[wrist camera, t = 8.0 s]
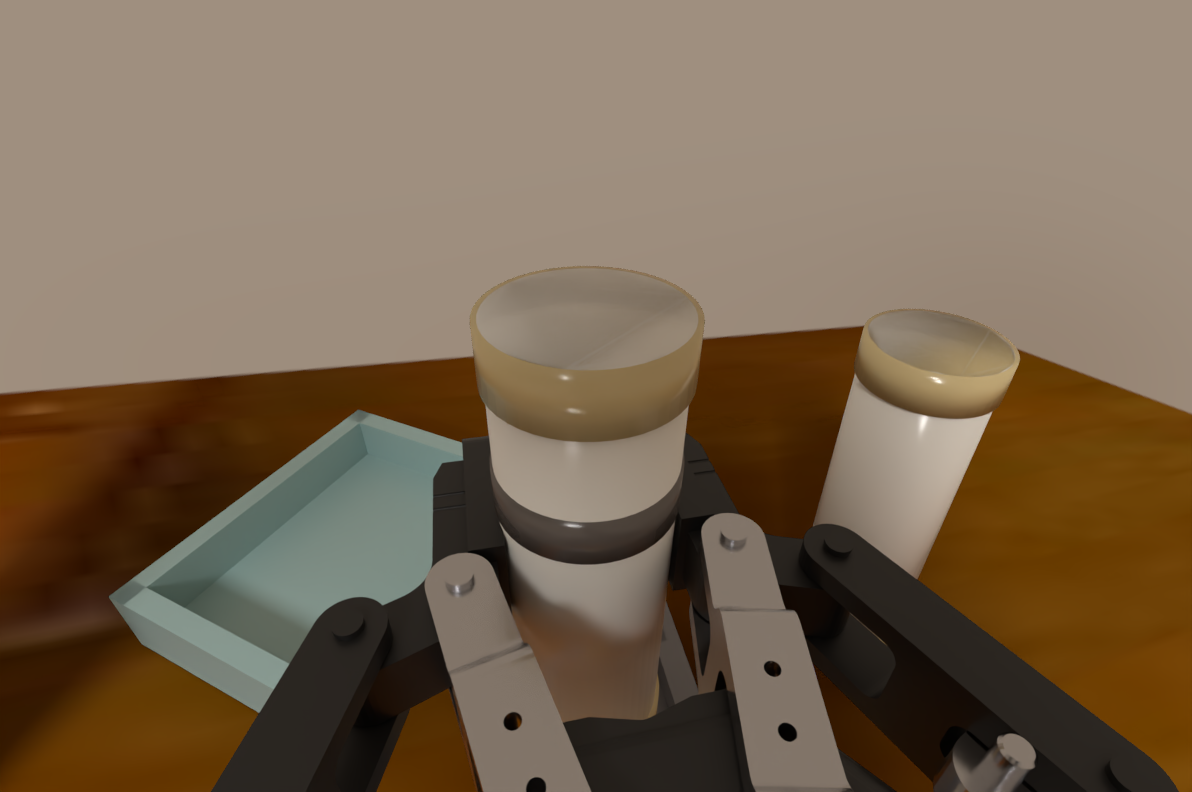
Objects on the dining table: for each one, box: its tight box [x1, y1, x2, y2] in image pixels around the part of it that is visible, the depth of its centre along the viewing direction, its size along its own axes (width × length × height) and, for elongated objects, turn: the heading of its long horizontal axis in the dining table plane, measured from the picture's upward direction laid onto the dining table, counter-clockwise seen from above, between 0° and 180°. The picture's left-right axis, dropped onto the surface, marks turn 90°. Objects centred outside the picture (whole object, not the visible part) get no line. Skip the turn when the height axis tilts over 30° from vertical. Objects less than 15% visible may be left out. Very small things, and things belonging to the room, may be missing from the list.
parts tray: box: [109, 410, 463, 713], centre depth 24 cm, size 12×10×3 cm
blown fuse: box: [470, 266, 705, 722], centre depth 13 cm, size 4×4×12 cm
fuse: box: [813, 309, 1020, 643], centre depth 20 cm, size 4×4×12 cm
